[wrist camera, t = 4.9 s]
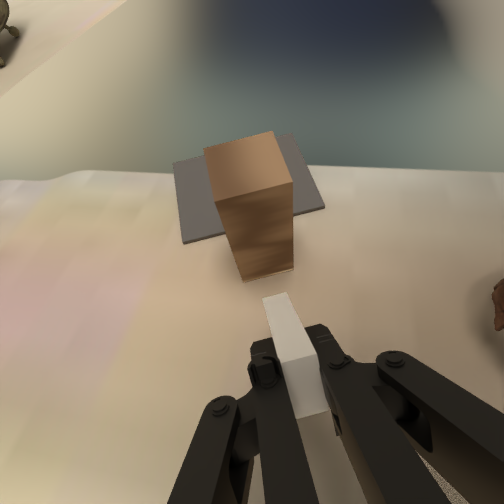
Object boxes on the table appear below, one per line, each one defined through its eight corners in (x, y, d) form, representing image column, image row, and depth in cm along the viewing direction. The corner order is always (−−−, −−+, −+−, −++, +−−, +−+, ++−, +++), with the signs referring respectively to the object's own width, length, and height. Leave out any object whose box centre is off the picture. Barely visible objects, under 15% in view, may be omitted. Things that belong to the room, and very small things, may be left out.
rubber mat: (291, 135, 35) (291, 132, 34) (324, 208, 29) (324, 205, 29) (173, 165, 34) (172, 163, 34) (183, 244, 29) (182, 242, 28)
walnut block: (279, 228, 28) (272, 130, 19) (293, 269, 26) (292, 181, 17) (233, 240, 28) (203, 148, 19) (243, 282, 26) (214, 201, 17)
